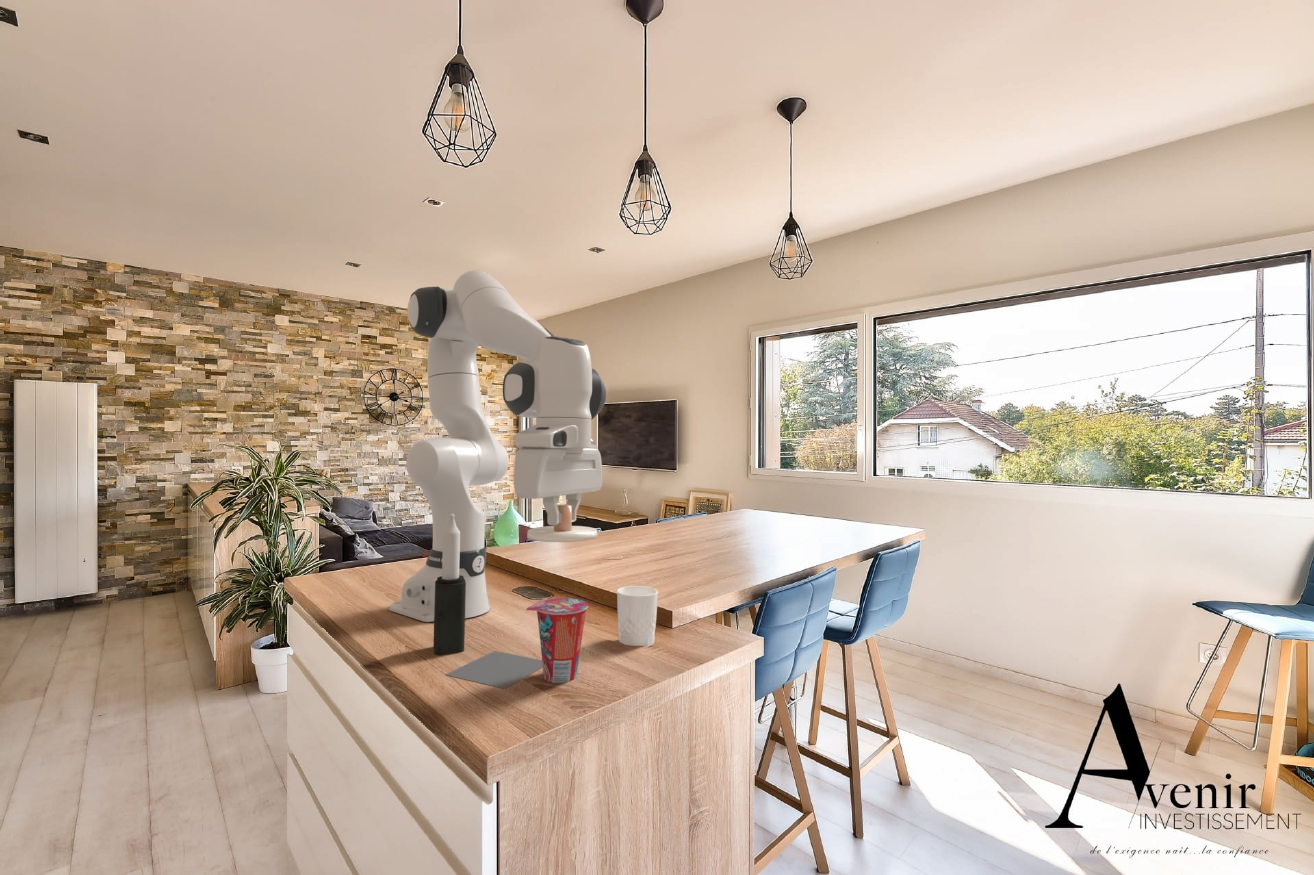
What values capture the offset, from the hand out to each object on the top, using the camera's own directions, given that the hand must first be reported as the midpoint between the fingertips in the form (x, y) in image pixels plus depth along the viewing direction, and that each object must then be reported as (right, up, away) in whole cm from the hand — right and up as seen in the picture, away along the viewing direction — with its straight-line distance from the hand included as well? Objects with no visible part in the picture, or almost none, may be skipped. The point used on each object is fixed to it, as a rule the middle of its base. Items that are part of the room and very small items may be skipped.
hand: (562, 523), depth 91 cm
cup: (-1, -26, 0) cm, 26 cm away
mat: (-11, -25, +3) cm, 28 cm away
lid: (0, -2, 0) cm, 2 cm away
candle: (-22, -25, +12) cm, 36 cm away
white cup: (+11, -26, +18) cm, 34 cm away
